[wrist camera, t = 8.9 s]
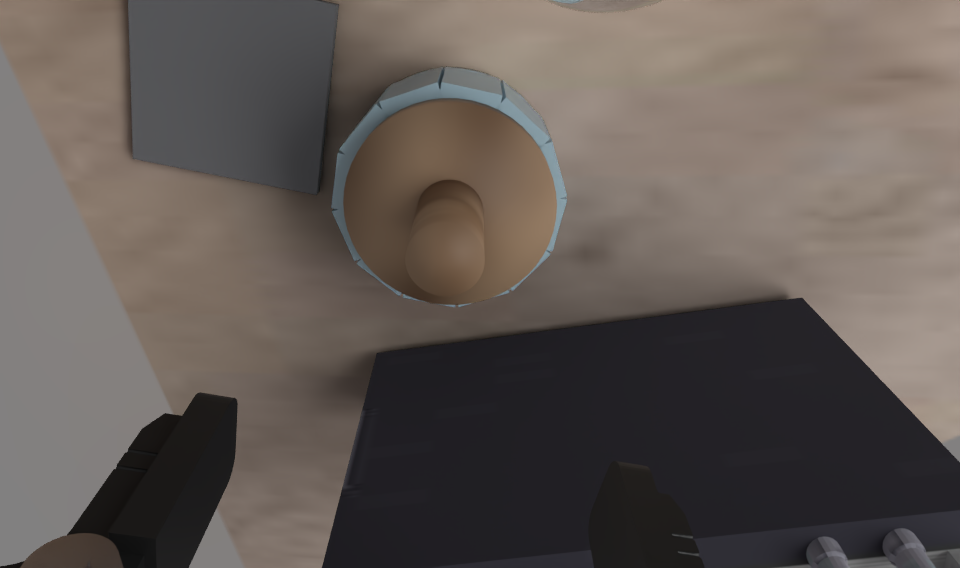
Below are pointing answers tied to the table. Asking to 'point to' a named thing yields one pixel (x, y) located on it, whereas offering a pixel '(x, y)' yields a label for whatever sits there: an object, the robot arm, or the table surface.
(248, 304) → the table surface
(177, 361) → the table surface
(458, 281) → the lid
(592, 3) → the wineglass
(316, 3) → the mat
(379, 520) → the radio
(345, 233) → the bowl
